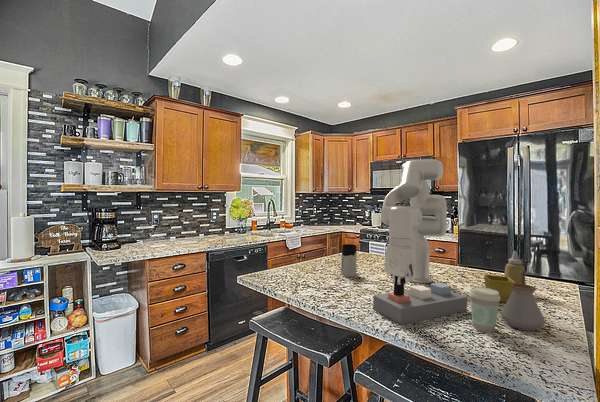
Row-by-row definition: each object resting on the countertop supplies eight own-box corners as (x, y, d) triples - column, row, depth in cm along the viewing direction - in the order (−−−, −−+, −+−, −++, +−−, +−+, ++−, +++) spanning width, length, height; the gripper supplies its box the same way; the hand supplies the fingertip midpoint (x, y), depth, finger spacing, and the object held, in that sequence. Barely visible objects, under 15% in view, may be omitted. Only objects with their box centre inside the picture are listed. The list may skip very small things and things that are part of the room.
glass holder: (358, 276, 153) (359, 246, 152) (330, 275, 153) (331, 246, 153) (355, 271, 161) (356, 244, 161) (329, 271, 162) (329, 243, 161)
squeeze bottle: (529, 296, 126) (530, 253, 126) (508, 294, 128) (509, 252, 127) (519, 290, 134) (520, 250, 134) (499, 288, 136) (500, 249, 135)
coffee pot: (545, 337, 88) (547, 287, 88) (499, 326, 95) (500, 280, 95) (542, 315, 105) (543, 273, 105) (502, 307, 112) (504, 267, 112)
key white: (409, 300, 110) (410, 286, 109) (419, 298, 112) (420, 285, 112) (420, 304, 105) (420, 290, 105) (430, 303, 107) (431, 289, 107)
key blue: (429, 296, 114) (430, 283, 114) (439, 295, 116) (439, 282, 116) (440, 301, 109) (441, 287, 109) (450, 299, 111) (450, 286, 111)
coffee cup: (462, 322, 98) (463, 286, 98) (486, 322, 98) (487, 286, 98) (479, 335, 89) (481, 295, 89) (506, 334, 90) (507, 294, 90)
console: (373, 308, 108) (373, 295, 108) (435, 298, 121) (435, 286, 121) (400, 324, 96) (400, 308, 96) (466, 310, 108) (467, 297, 108)
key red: (388, 307, 106) (388, 293, 105) (399, 305, 108) (399, 291, 107) (398, 312, 101) (398, 297, 101) (409, 310, 103) (409, 296, 103)
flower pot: (507, 298, 123) (508, 276, 123) (515, 305, 115) (515, 282, 114) (483, 295, 126) (483, 274, 126) (488, 302, 117) (489, 279, 117)
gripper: (377, 239, 109) (376, 289, 109) (407, 246, 95) (406, 303, 96) (393, 239, 112) (392, 287, 112) (425, 245, 98) (423, 300, 99)
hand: (398, 294), depth 104 cm, fingers closed
